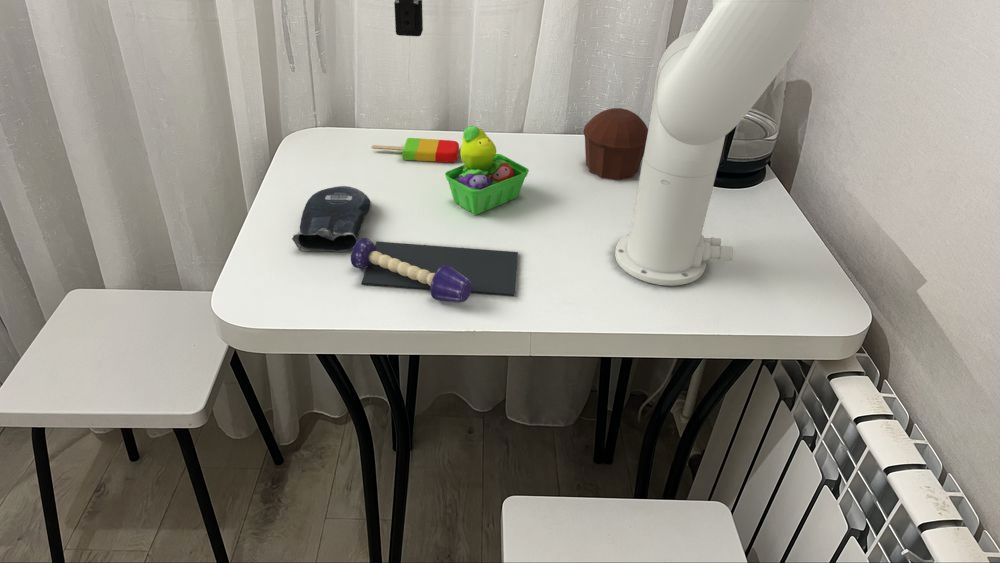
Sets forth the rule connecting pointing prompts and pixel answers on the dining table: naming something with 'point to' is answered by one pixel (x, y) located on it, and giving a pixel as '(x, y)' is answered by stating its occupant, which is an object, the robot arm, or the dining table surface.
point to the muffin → (615, 143)
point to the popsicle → (426, 150)
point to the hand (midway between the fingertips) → (409, 33)
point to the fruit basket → (484, 174)
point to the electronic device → (332, 220)
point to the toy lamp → (415, 272)
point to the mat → (478, 265)
